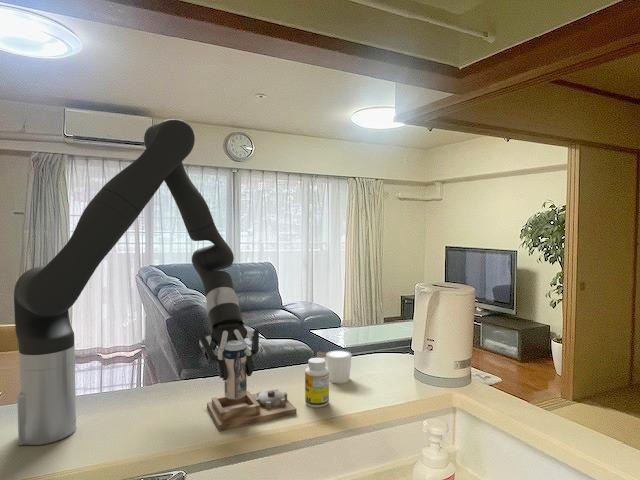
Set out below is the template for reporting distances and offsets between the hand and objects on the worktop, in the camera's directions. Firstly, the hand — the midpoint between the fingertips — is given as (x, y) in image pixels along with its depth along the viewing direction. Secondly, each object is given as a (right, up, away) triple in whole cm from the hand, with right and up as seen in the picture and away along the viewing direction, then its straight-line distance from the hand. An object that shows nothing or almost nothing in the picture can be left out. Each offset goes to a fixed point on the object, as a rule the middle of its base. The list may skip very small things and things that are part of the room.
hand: (237, 376), depth 90 cm
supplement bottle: (+17, -9, +7) cm, 21 cm away
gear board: (+2, -9, +3) cm, 10 cm away
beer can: (-1, -5, +2) cm, 6 cm away
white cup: (+23, -8, +23) cm, 33 cm away
